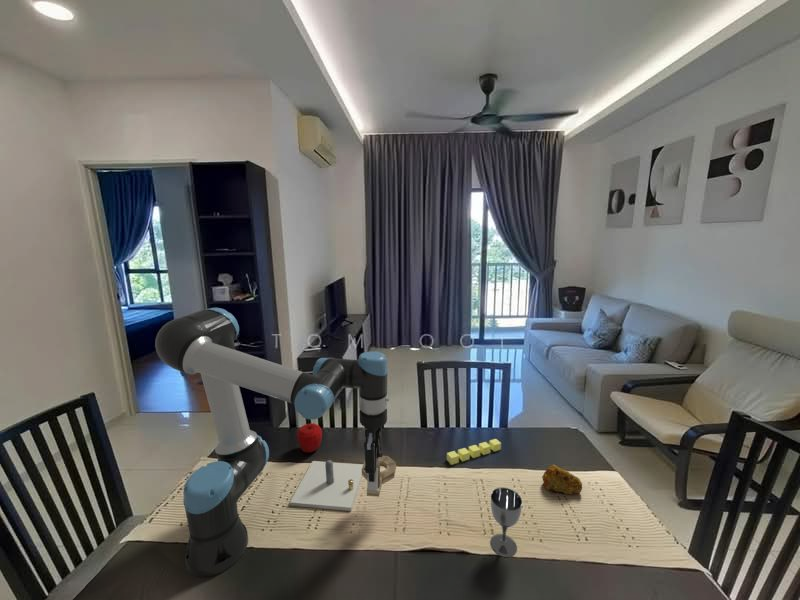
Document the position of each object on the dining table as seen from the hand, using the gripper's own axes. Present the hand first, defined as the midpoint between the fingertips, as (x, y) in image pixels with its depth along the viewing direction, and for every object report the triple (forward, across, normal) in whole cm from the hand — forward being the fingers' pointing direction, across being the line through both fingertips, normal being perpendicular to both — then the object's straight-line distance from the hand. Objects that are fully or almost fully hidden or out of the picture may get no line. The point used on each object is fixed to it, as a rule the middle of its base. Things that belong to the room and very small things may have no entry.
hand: (373, 483), depth 98 cm
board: (+15, +15, +18) cm, 28 cm away
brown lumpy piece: (+14, +22, -60) cm, 65 cm away
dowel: (+15, +13, +10) cm, 23 cm away
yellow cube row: (+15, +38, -31) cm, 51 cm away
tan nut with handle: (+3, +6, 0) cm, 6 cm away
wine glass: (+14, -2, -37) cm, 39 cm away
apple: (+16, +33, +32) cm, 49 cm away
